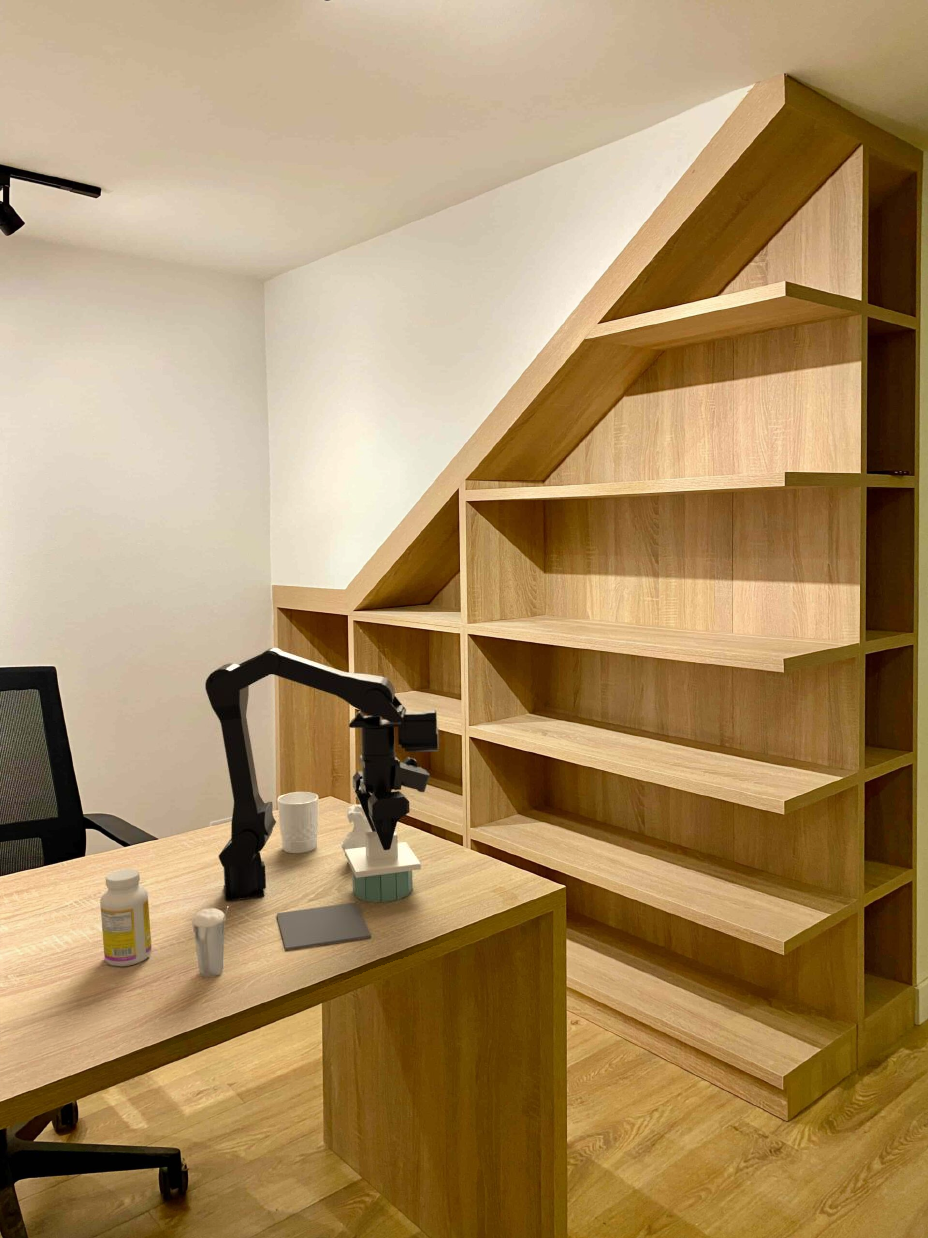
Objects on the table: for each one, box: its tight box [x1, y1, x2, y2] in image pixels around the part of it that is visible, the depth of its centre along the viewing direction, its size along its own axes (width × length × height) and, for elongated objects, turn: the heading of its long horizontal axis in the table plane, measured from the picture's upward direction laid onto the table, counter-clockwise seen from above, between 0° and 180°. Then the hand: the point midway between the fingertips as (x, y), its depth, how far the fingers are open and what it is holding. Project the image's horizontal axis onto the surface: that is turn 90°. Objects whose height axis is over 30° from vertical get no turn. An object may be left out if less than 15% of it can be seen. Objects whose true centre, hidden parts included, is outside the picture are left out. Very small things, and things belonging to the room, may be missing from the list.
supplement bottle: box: [99, 868, 153, 967], centre depth 140 cm, size 7×7×13 cm
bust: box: [341, 803, 372, 853], centre depth 178 cm, size 12×8×11 cm
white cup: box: [276, 791, 319, 854], centre depth 184 cm, size 8×8×10 cm
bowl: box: [351, 869, 414, 903], centre depth 163 cm, size 10×10×5 cm
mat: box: [276, 902, 372, 951], centre depth 149 cm, size 13×13×1 cm
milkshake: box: [191, 906, 230, 978], centre depth 135 cm, size 5×5×10 cm
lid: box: [344, 831, 422, 878], centre depth 163 cm, size 11×11×5 cm
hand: (381, 840), depth 162 cm, fingers open, 9 cm apart
